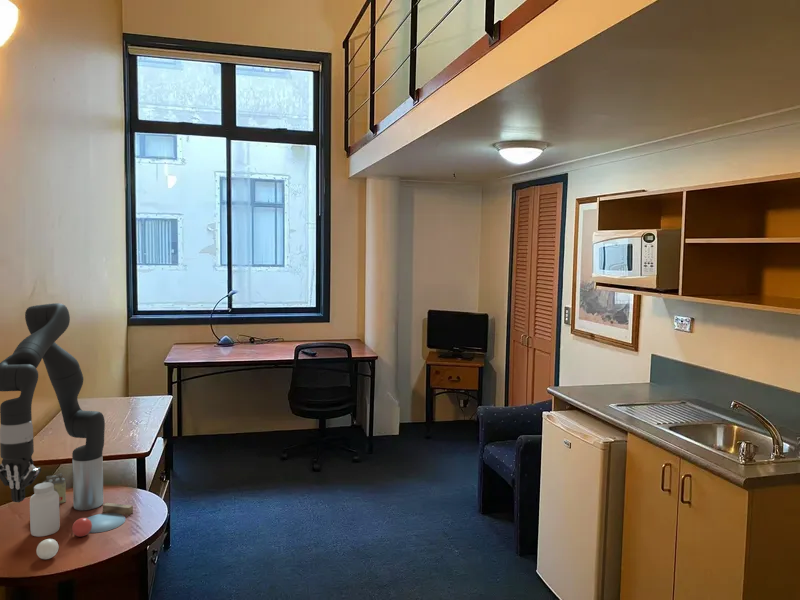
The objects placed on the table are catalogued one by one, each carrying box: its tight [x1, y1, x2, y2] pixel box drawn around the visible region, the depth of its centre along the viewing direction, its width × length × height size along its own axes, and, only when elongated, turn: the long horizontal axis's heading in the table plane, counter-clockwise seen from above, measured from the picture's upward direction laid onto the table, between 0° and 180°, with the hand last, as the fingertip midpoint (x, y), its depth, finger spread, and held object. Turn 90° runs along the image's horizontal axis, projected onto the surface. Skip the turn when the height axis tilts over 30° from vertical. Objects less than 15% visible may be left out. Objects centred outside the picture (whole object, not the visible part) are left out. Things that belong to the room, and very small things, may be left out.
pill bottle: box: [29, 482, 61, 537], centre depth 187 cm, size 8×8×15 cm
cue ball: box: [36, 538, 60, 560], centre depth 171 cm, size 6×6×6 cm
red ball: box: [71, 517, 92, 538], centre depth 185 cm, size 6×6×6 cm
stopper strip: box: [102, 502, 134, 516], centre depth 202 cm, size 10×2×2 cm, turn 79°
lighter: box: [42, 472, 67, 504], centre depth 208 cm, size 7×4×10 cm, turn 126°
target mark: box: [86, 512, 126, 534], centre depth 194 cm, size 14×14×1 cm
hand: (18, 501), depth 160 cm, fingers closed
